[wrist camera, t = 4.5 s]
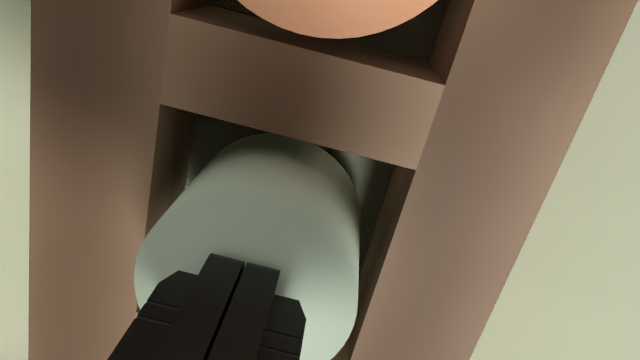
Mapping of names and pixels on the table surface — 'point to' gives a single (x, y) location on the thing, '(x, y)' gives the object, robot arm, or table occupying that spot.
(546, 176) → the button board
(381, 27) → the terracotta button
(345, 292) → the sage button
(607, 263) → the table surface
